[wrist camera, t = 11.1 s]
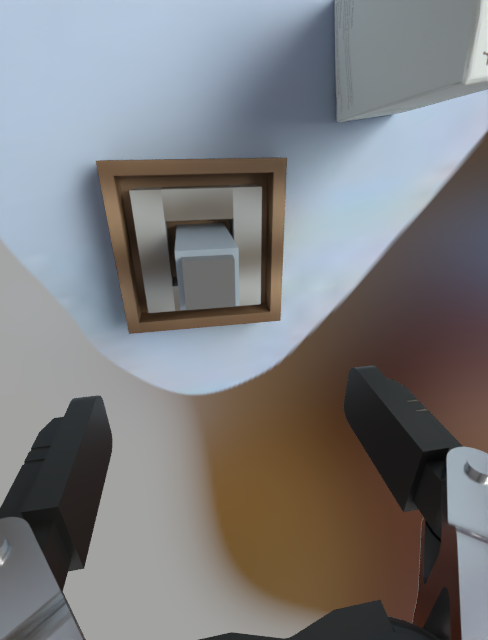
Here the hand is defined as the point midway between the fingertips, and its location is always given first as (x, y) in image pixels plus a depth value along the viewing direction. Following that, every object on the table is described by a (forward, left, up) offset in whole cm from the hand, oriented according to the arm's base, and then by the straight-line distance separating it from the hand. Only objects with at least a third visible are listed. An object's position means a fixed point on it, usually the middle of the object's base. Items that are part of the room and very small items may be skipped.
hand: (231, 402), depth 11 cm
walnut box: (0, 0, -22) cm, 22 cm away
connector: (0, 0, -21) cm, 21 cm away
